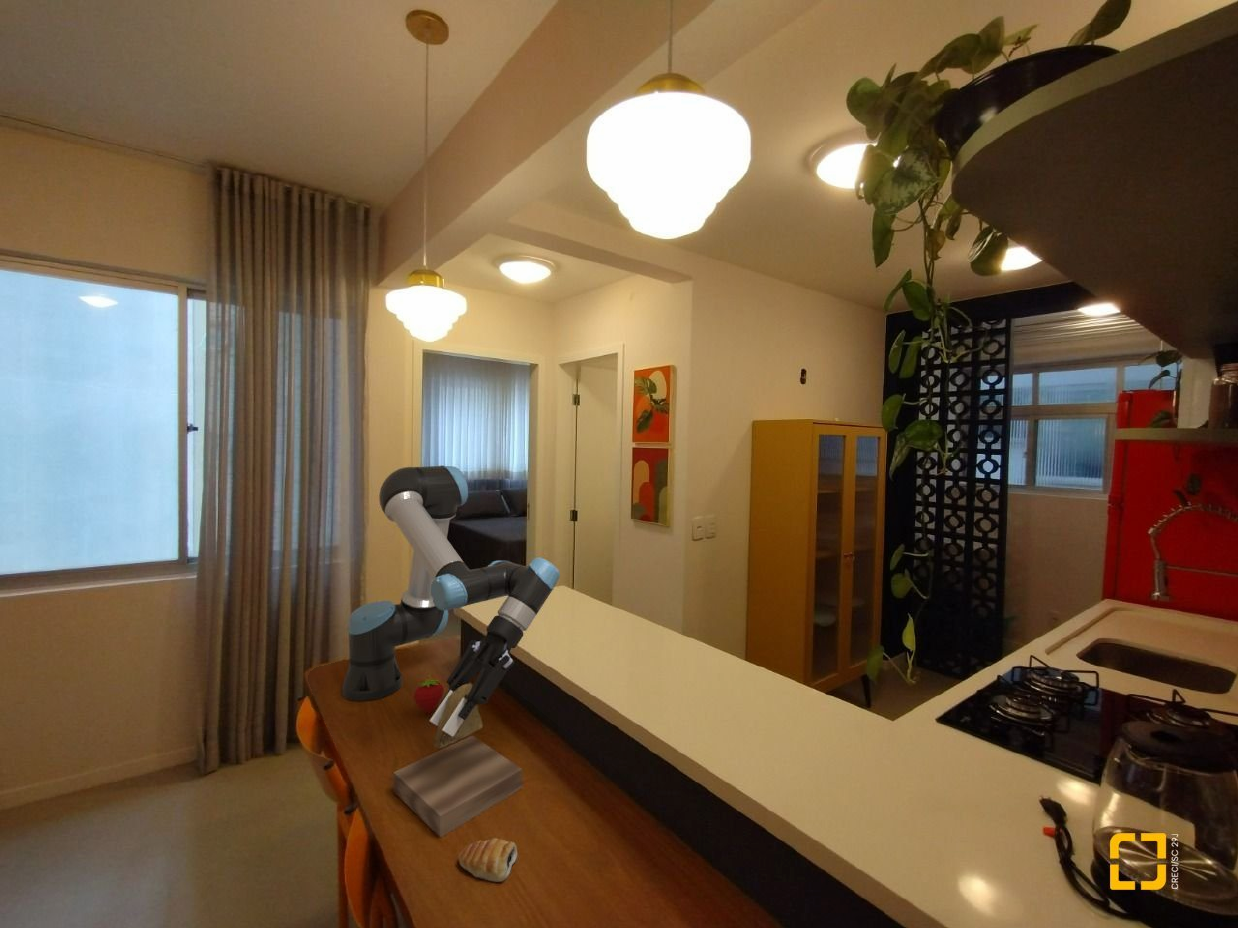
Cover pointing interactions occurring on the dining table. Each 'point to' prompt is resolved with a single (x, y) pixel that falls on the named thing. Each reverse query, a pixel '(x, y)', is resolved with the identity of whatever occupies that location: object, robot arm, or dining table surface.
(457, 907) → the dining table surface
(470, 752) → the walnut base
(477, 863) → the pastry
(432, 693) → the strawberry
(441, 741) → the rock
